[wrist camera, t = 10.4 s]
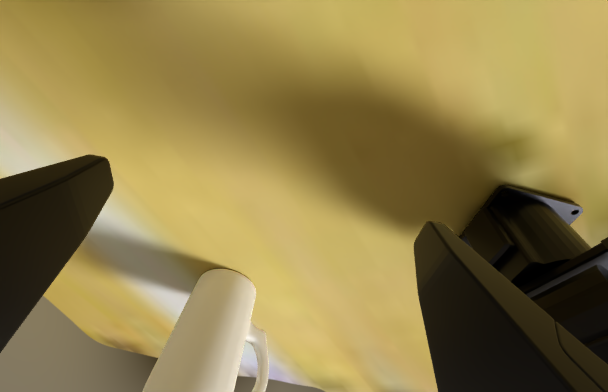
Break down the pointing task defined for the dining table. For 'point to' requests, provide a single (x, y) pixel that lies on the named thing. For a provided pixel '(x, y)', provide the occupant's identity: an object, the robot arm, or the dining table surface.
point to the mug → (212, 338)
